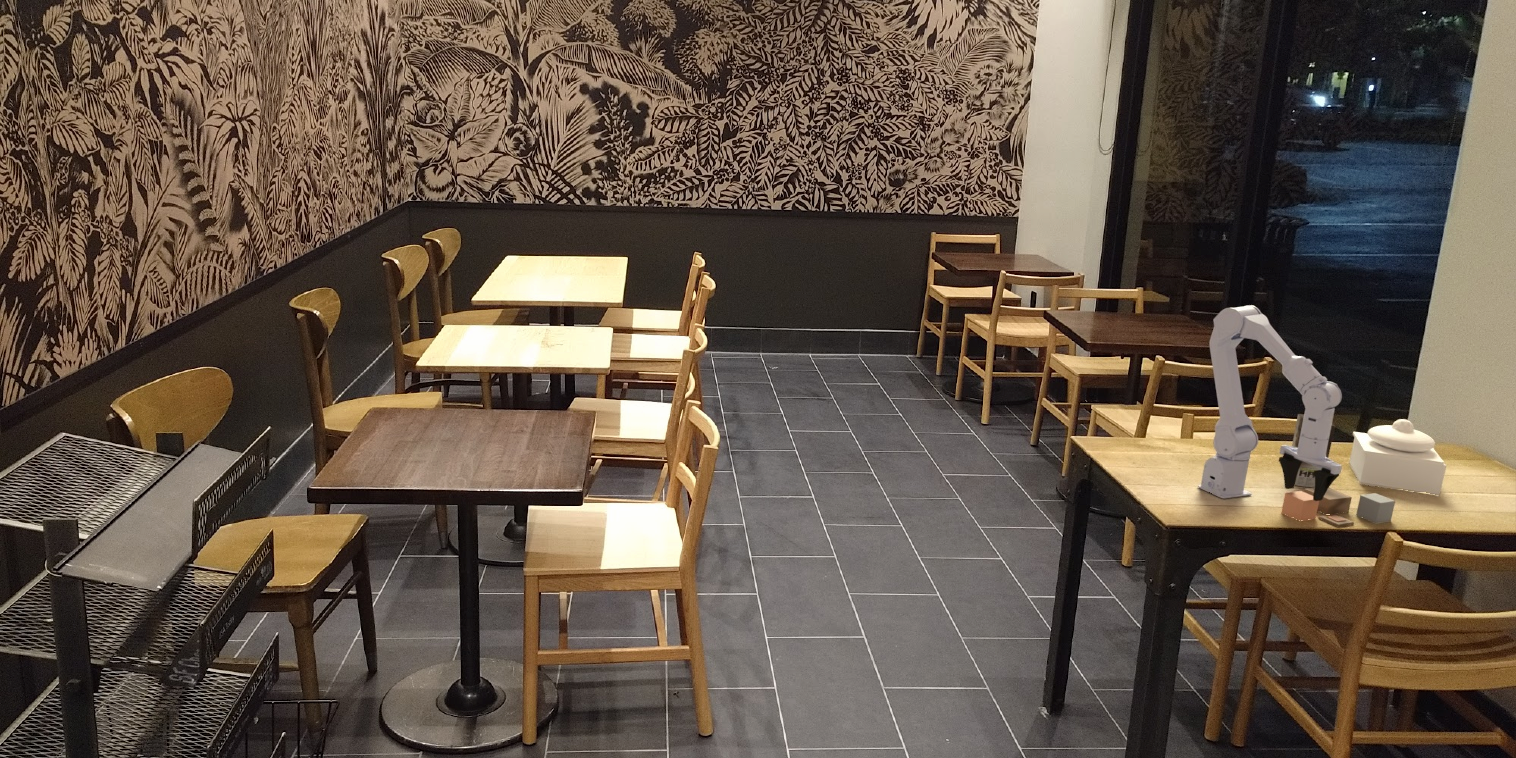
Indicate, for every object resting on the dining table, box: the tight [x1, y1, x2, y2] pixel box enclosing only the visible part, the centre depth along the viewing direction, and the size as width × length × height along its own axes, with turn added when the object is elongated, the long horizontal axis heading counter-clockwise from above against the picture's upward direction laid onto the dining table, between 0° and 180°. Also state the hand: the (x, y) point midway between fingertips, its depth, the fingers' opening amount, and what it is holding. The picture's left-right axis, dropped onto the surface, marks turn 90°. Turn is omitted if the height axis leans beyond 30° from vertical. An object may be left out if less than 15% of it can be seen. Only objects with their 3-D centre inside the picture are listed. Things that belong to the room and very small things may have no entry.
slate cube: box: [1355, 492, 1396, 524], centre depth 253 cm, size 5×5×5 cm
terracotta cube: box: [1281, 490, 1319, 522], centre depth 251 cm, size 5×5×5 cm
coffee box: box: [1291, 413, 1336, 488], centre depth 274 cm, size 9×6×16 cm
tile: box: [1318, 514, 1355, 528], centre depth 250 cm, size 5×5×1 cm
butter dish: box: [1348, 418, 1448, 496], centre depth 280 cm, size 18×18×16 cm
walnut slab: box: [1303, 487, 1353, 515], centre depth 258 cm, size 7×7×4 cm
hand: (1303, 494), depth 250 cm, fingers open, 7 cm apart
